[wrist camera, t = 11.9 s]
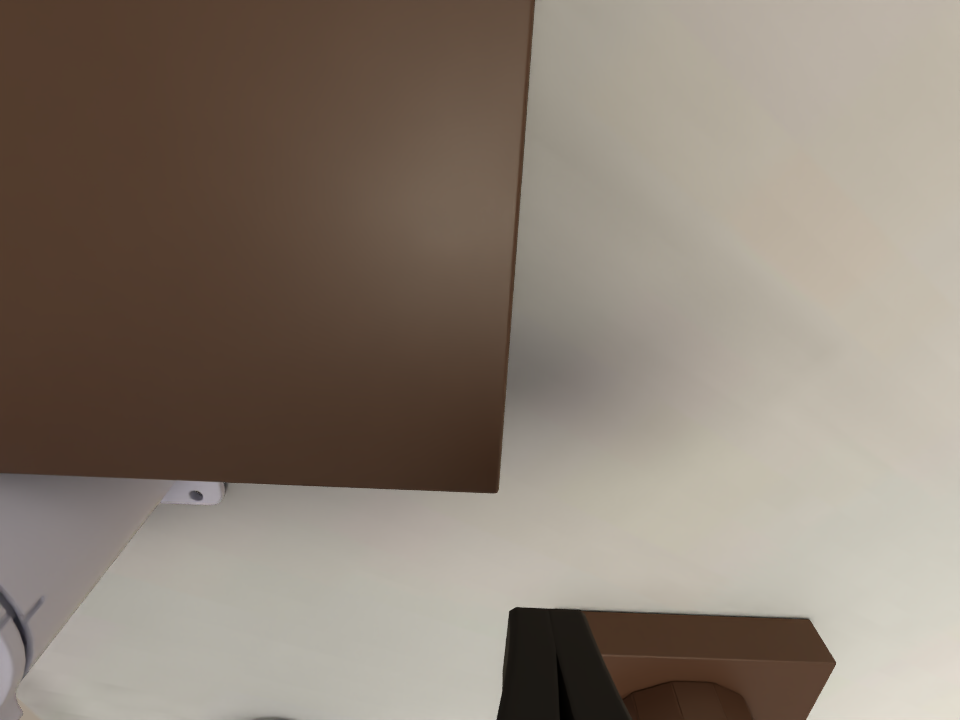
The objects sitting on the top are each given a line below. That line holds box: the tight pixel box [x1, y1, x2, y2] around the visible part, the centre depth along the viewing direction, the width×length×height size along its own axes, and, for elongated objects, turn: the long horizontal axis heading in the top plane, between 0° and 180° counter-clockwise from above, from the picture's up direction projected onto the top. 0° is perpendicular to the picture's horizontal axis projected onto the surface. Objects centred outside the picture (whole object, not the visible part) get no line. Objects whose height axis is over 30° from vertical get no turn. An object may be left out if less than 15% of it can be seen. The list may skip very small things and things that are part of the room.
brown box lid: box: [0, 0, 535, 493], centre depth 9 cm, size 14×13×1 cm
